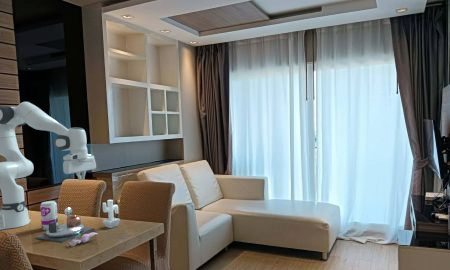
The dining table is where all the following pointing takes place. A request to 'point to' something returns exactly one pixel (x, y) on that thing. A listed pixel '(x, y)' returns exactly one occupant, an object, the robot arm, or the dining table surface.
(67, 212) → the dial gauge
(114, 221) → the figurine
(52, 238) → the plinth
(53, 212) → the supplement can
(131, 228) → the dining table surface
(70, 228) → the turntable
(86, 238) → the rabbit figure
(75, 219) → the cover
